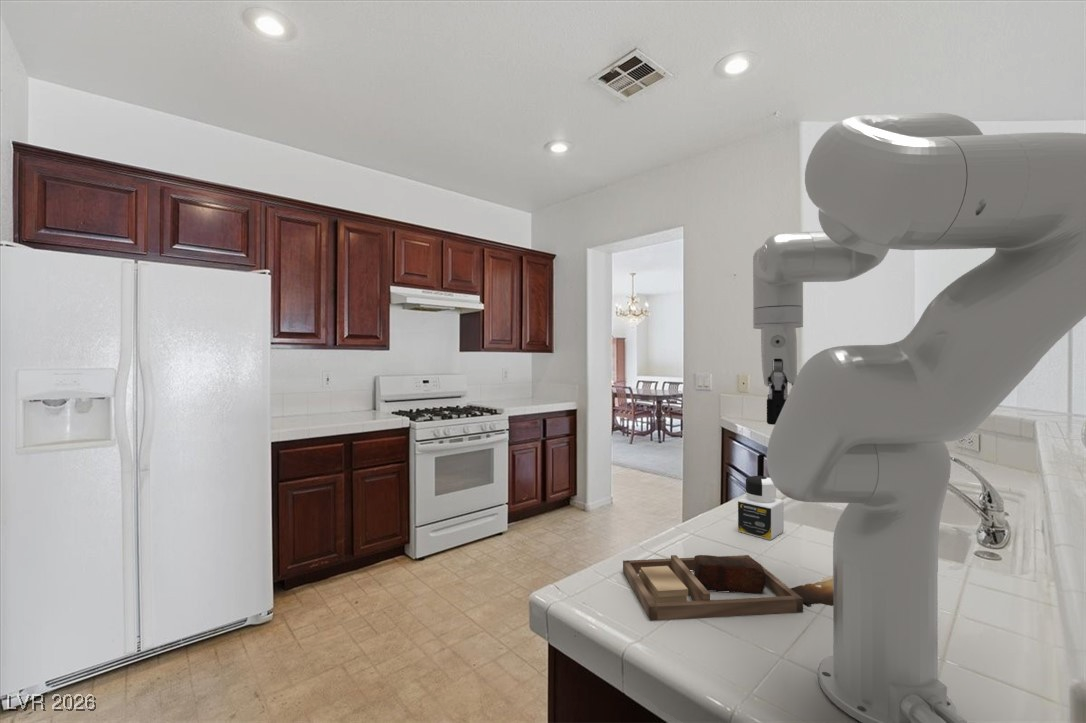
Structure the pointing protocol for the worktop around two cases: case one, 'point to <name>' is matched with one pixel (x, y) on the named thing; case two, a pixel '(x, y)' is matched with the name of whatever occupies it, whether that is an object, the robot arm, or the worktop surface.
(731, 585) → the brick
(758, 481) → the medicine bottle
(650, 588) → the offcut stack
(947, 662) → the worktop surface
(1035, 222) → the robot arm
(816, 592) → the parchment
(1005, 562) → the worktop surface
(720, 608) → the rack
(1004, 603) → the worktop surface
